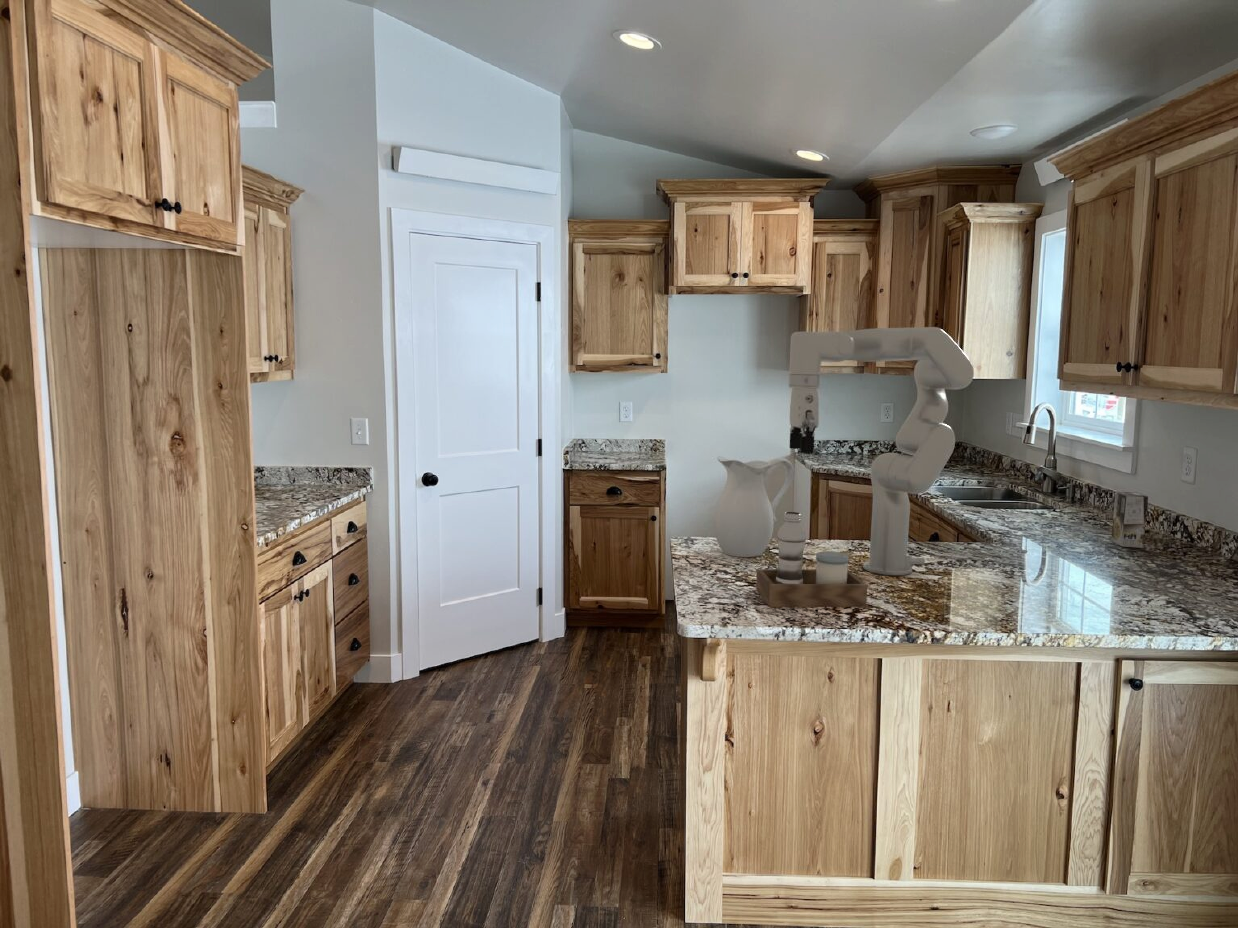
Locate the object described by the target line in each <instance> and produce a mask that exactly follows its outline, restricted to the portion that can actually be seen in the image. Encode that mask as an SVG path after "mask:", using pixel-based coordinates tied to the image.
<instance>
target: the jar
mask: <svg viewBox="0 0 1238 928" xmlns="http://www.w3.org/2000/svg"><path fill="white" fill-rule="evenodd" d="M815 560H816V568H815V569H816V584H847V570H848V571H849V569H848V566H849V562H850V555H849V554H847V553H845V552H844V553H843V552H839V551H829V550H828V551H826V550H824V551H819V552H817V553H816V554H815Z"/></svg>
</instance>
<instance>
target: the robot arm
mask: <svg viewBox="0 0 1238 928" xmlns="http://www.w3.org/2000/svg"><path fill="white" fill-rule="evenodd" d="M844 361H853V362H854V361H857V362H866V363H867V362H869V363H870V362H871V363H873V362H874V363H875V362H876V363H879V362H898V361H901V362H902V361H917V362H916V364H915V366H914V370H913V376H914V377H913V378H914V381H915V385H916V391H917V399H916V402H915V404H914V405H913V407H912V409H911V411H910V413H909V414H908V416H907V417H906V419H905V421H903V423H902V425H901V427H900V429H899V431H898V432H897V434H896V437H895V445H896V446H895V447H896V448H897V449H898V450H899V451H900V452H902V453H904V454H902V453H896V452H885V453H881V454H879V455H878V456H877V457H875V459H874V460H873V461H872V464H871V466H870V480H871V481H870V482H871V488H872V507H871V508H872V511H871V526H870V527H871V528H870V529H871V530H870V545H869V546H870V547H869V559H868V560H866V561H863V564H862V568H863V569H864V570H866V571H867V572H870V573H873V574H879V575H884V576H885V575H886V576H904V575H909V574H912V572H913V567H912V566H913V565H914V564H917V565H924V564H925V563H926V559H925V557H924V556H916V555H911V554H909V553H908V544H909V543H908V542H909V528H910V514H911V504H910V499H909V495H908V494H912V495H913V494H914V495H921V494H924V493H926V492H927V491H928V490H930V489H931V487H932V486H933V485H934V483H935V481H936V480H937V479H938V478H939V476H940V474H941V472H942V471H943V469H944V467H945V466H946V464H947V462H948V461H949V459H950V458H951V456H952V454H953V452H954V449H955V446H956V445H955V444H956V435H955V431H954V430H953V429H952V427H951V426H950V425H947V424H946V423H944V421H945V419H946V417H947V415H948V412H949V402H948V398H947V394H946V390H962V389H965V388H967V387H968V386H969V385H970V384H971V383H972V381H973V380H974V375H975V374H974V373H975V372H974V366H973V364H972V361H971V360H970V359H969V357H968V356H967V354H966V353H965V352H964V351H963V350H962V349H961V348H960V346H959V345H958V344H957V343H956V342H955V340H953V338H952V337H951V336H950V335H949V334H948V333H947V332H945V330H943V329H941V328H940V327H936V326H930V327H929V326H928V327H927V326H923V327H885V328H884V327H883V328H878V327H877V328H865V329H864V328H863V329H857V330H848V331H847V330H845V331H844V330H843V331H795V332H793V333H792V334H791V336H790V349H789V372H788V373H789V375H788V388H789V389H791V392H790V404H789V424H790V429H789V449H792V450H793V449H794V450H797V449H799V452H800V453H801V454H813V453H814V452H815V451H814V447H815V436H816V435H815V434H816V433H815V430H816V429H817V428H818V427H819V419H820V418H819V415H820V414H819V412H820V411H819V409H820V407H819V406H820V405H819V391H818V389H820V387H821V385H820V384H821V367H822V364H821V363H822V362H824V363H825V362H827V363H841V362H844Z"/></svg>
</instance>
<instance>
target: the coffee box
mask: <svg viewBox="0 0 1238 928" xmlns="http://www.w3.org/2000/svg"><path fill="white" fill-rule="evenodd" d="M1148 501H1149V496H1148V495H1144V494H1142V493H1139V492H1136V491H1115V493H1114V504H1113V506H1114V507H1113V515H1112V516H1113V518H1112V530H1111V539H1110V540H1111V542H1113V543H1115V544H1117V545H1118V546H1121V547H1123V548H1125V547H1126V548H1137V549H1138V548H1140V549H1142V548H1144V542H1145V541H1144V540H1145V533H1146V532H1145V530H1146V521H1147V513H1148Z"/></svg>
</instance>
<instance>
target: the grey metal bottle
mask: <svg viewBox="0 0 1238 928" xmlns="http://www.w3.org/2000/svg"><path fill="white" fill-rule="evenodd" d="M801 517H802V516H801V513H800V512H797V511H785V512H784V513H783V521H784V523H783V524H782V526H781V527H780V528H779V529H778V531H777V534H776V535H777V536H776V538H777V547H778V550H777V551H778V565H777V569H778V570H777V577H776V580H775V584H803V579H802V569H803V559H804V558H803V557H804V550H805V545H806V539H807V534H806V531H805V530H804V528H803V527H802V524H800V523H801V521H802V519H801Z"/></svg>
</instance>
